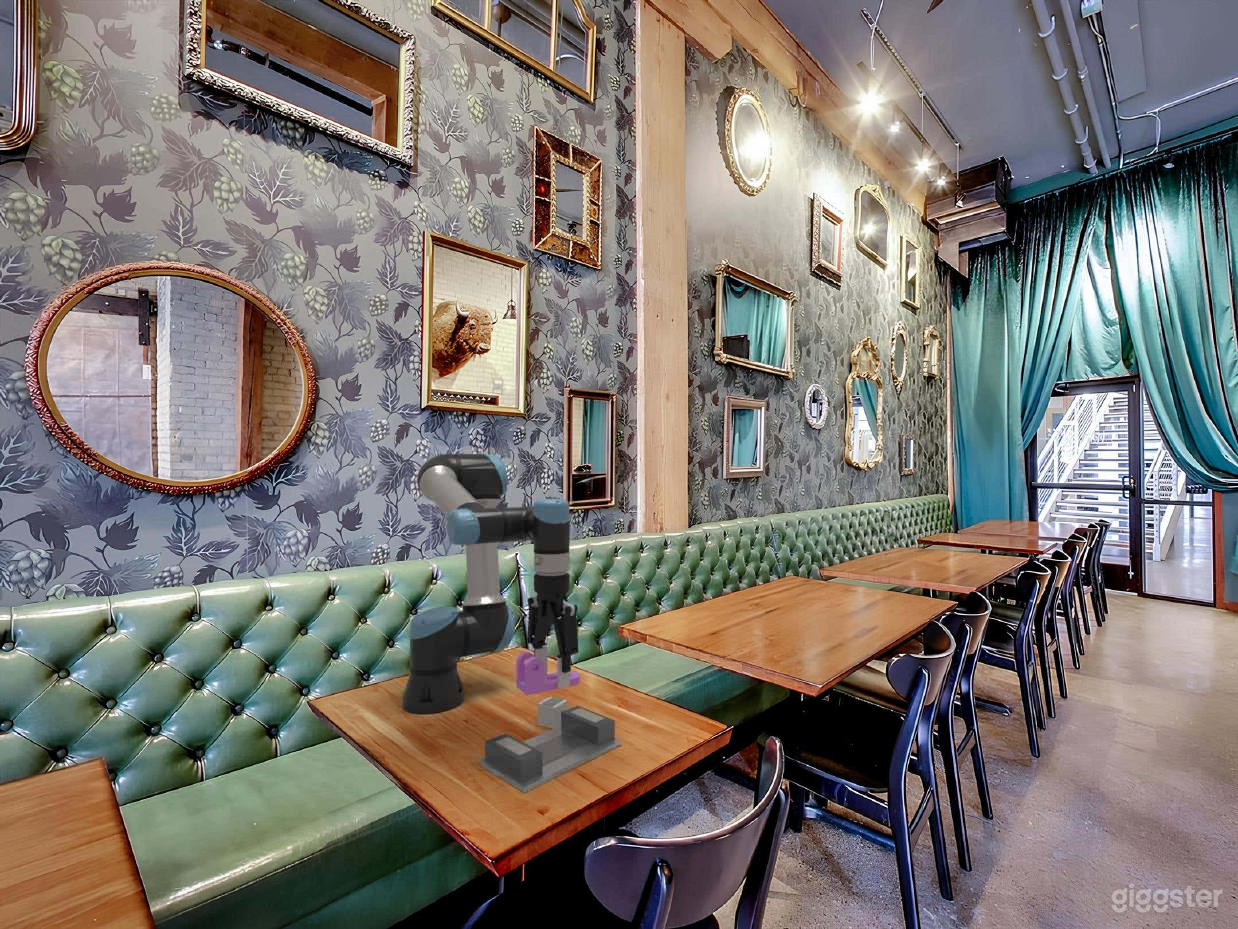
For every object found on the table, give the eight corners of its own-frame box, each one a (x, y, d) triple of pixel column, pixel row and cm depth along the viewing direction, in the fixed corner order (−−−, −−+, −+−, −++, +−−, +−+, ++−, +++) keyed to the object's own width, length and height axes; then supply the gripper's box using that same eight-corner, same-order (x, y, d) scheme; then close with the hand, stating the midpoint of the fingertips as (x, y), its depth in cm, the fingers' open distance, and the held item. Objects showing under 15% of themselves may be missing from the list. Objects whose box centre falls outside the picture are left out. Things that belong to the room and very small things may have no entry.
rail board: (478, 765, 117) (478, 739, 117) (574, 724, 136) (574, 702, 136) (524, 793, 107) (524, 764, 107) (621, 745, 125) (621, 720, 126)
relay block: (537, 725, 136) (537, 703, 136) (550, 717, 140) (550, 695, 140) (555, 729, 133) (555, 707, 134) (567, 721, 138) (567, 699, 138)
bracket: (527, 695, 115) (527, 660, 116) (516, 687, 120) (516, 653, 120) (584, 683, 122) (584, 649, 123) (572, 676, 127) (572, 643, 127)
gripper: (509, 569, 126) (509, 676, 126) (568, 580, 113) (569, 700, 112) (537, 565, 131) (537, 668, 131) (596, 575, 118) (597, 690, 117)
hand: (552, 683), depth 121 cm, fingers closed on bracket, 6 cm apart
